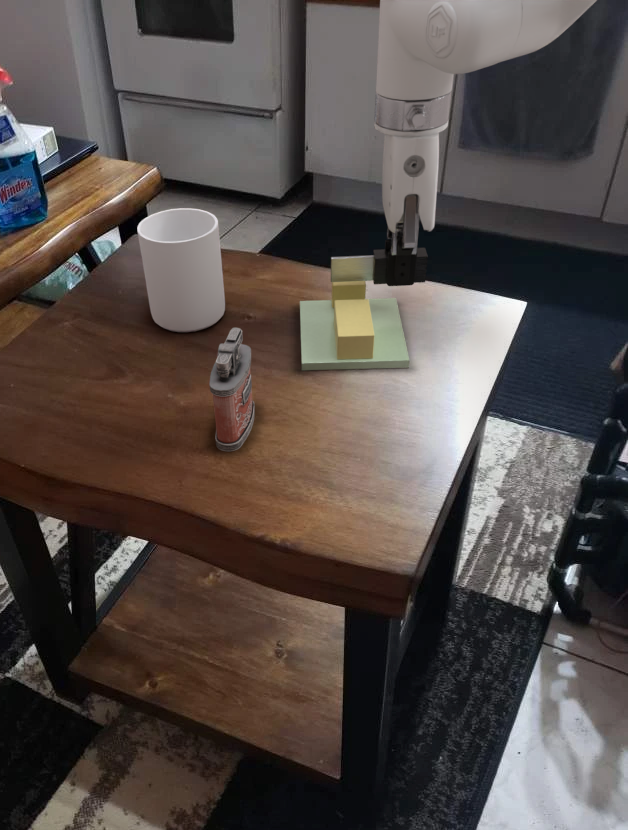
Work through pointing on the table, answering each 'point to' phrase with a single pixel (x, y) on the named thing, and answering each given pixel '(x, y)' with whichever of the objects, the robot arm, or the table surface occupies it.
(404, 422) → the table surface
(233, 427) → the lighter
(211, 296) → the mug
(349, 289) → the butter pat
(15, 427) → the table surface
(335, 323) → the butter
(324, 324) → the butter plate
